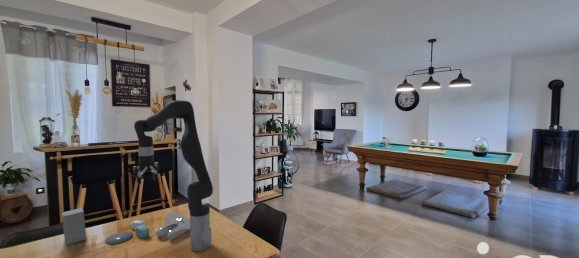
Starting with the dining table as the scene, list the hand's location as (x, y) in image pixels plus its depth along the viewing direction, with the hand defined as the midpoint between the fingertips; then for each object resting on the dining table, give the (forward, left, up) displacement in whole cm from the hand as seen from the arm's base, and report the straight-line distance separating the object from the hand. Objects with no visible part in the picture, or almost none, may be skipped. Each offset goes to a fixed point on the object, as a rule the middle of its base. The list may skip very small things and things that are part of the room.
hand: (147, 182), depth 139 cm
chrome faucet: (-16, -3, -27) cm, 32 cm away
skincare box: (+17, +29, -27) cm, 43 cm away
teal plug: (-7, +8, -27) cm, 29 cm away
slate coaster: (0, +16, -27) cm, 31 cm away
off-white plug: (+3, +5, -27) cm, 27 cm away
